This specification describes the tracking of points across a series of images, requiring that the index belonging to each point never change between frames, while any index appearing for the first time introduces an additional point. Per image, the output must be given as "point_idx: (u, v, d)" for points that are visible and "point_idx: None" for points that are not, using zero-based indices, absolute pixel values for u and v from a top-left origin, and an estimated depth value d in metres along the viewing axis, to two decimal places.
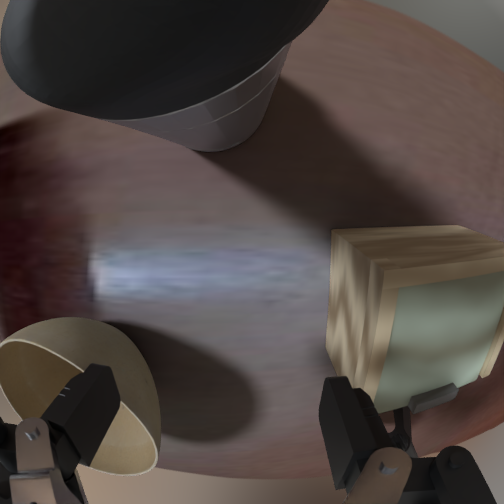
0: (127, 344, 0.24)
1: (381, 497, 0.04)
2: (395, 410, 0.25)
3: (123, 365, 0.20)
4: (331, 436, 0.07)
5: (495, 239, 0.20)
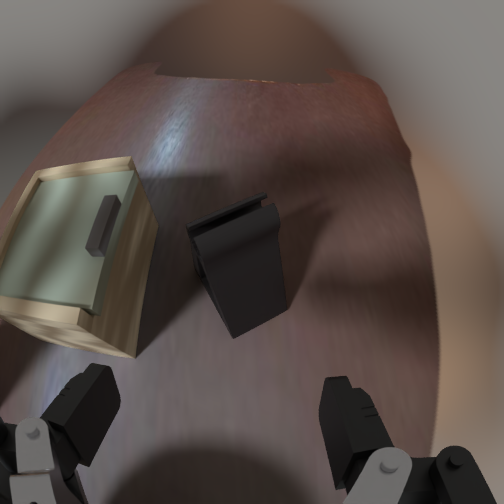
0: None
1: (381, 497, 0.04)
2: (196, 260, 0.24)
3: None
4: (331, 436, 0.07)
5: None
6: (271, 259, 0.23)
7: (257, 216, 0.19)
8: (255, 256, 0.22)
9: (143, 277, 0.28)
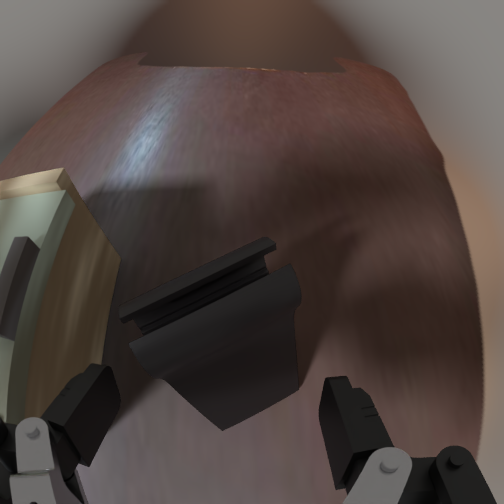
0: None
1: (381, 497, 0.04)
2: None
3: None
4: (331, 436, 0.07)
5: None
6: (281, 345, 0.13)
7: (256, 295, 0.09)
8: (253, 348, 0.12)
9: (97, 337, 0.18)
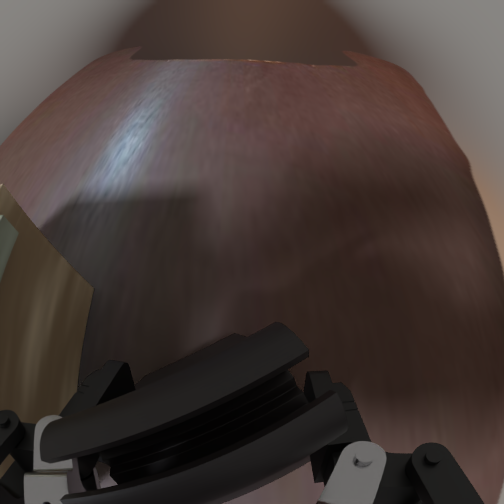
0: None
1: (357, 491, 0.04)
2: None
3: None
4: None
5: None
6: None
7: (270, 453, 0.04)
8: None
9: (66, 389, 0.13)
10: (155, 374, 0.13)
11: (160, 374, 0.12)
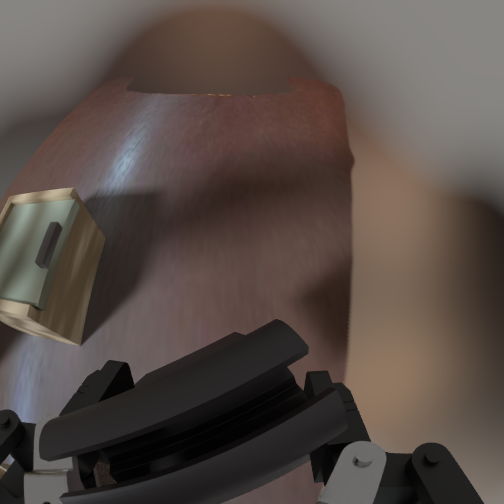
0: None
1: (358, 490, 0.04)
2: None
3: None
4: None
5: None
6: None
7: (269, 451, 0.04)
8: None
9: (88, 282, 0.33)
10: (155, 373, 0.13)
11: (160, 373, 0.12)
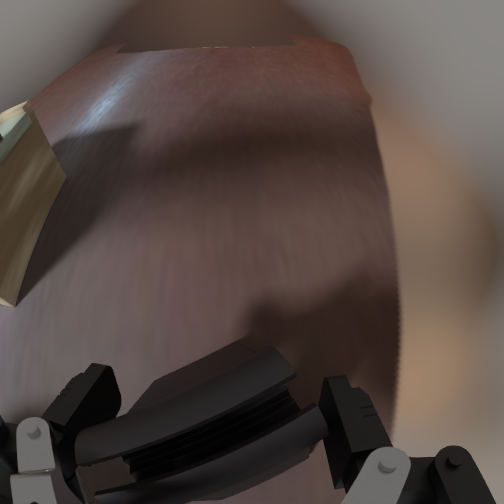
0: None
1: (380, 497, 0.04)
2: None
3: None
4: (330, 436, 0.07)
5: None
6: None
7: (265, 452, 0.05)
8: None
9: (35, 223, 0.22)
10: (163, 380, 0.14)
11: (168, 381, 0.13)
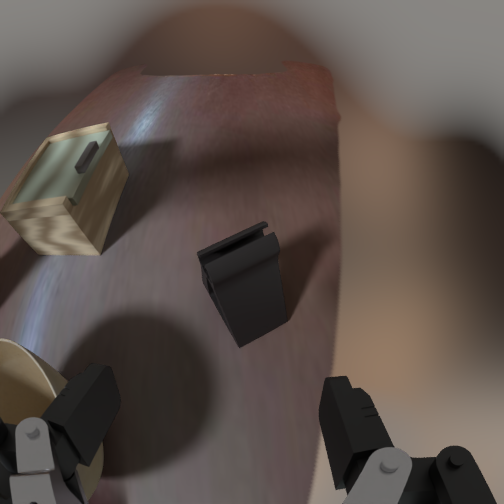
0: None
1: (381, 497, 0.04)
2: (205, 280, 0.27)
3: None
4: (331, 436, 0.07)
5: None
6: (272, 278, 0.25)
7: (259, 244, 0.22)
8: (258, 277, 0.24)
9: (113, 203, 0.39)
10: None
11: None
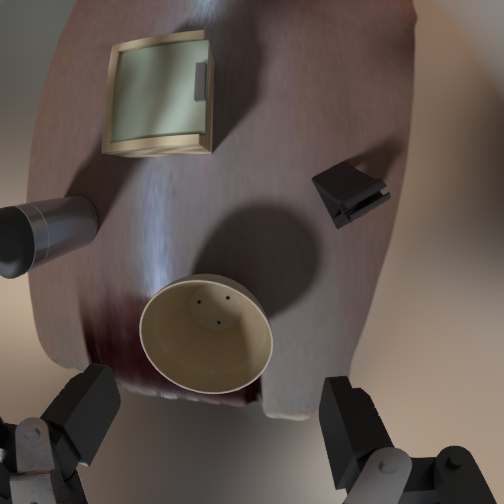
0: (180, 284, 0.42)
1: (381, 497, 0.04)
2: (330, 197, 0.37)
3: None
4: (331, 436, 0.07)
5: None
6: None
7: (380, 201, 0.31)
8: None
9: (212, 100, 0.38)
10: (322, 179, 0.40)
11: (328, 180, 0.39)
